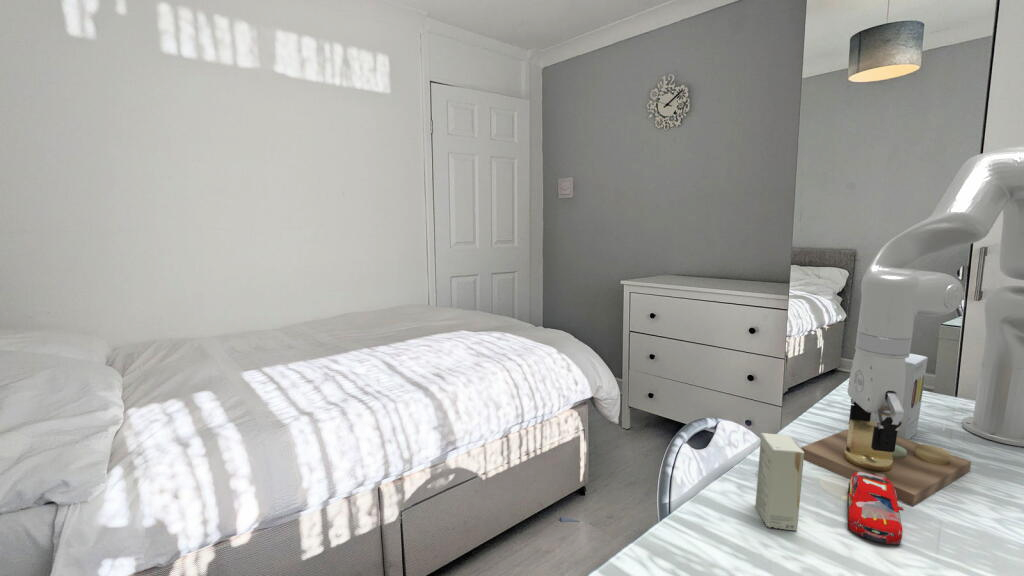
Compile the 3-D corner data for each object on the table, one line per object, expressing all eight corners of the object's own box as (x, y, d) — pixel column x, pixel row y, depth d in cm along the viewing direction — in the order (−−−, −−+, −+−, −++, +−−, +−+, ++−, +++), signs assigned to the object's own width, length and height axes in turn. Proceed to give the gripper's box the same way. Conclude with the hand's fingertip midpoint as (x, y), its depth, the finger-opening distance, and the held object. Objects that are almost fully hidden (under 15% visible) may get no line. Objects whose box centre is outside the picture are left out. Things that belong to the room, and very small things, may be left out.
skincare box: (798, 532, 72) (806, 453, 70) (765, 528, 73) (773, 450, 71) (783, 506, 78) (791, 434, 76) (753, 503, 79) (760, 431, 77)
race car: (902, 556, 67) (907, 523, 67) (843, 537, 71) (847, 506, 70) (896, 500, 81) (900, 472, 80) (847, 486, 84) (850, 459, 84)
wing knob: (881, 454, 91) (886, 417, 90) (899, 473, 84) (905, 434, 83) (838, 449, 92) (842, 413, 91) (852, 467, 86) (857, 429, 85)
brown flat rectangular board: (860, 432, 105) (862, 417, 104) (969, 471, 89) (972, 453, 89) (799, 457, 94) (801, 440, 93) (912, 506, 78) (915, 486, 78)
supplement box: (904, 444, 99) (916, 364, 97) (851, 429, 107) (861, 353, 104) (918, 432, 105) (929, 355, 103) (867, 417, 112) (876, 346, 110)
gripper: (839, 331, 94) (828, 416, 97) (879, 356, 78) (866, 458, 80) (884, 334, 92) (873, 421, 95) (936, 360, 76) (920, 464, 78)
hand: (870, 437), depth 87 cm, fingers open, 9 cm apart
